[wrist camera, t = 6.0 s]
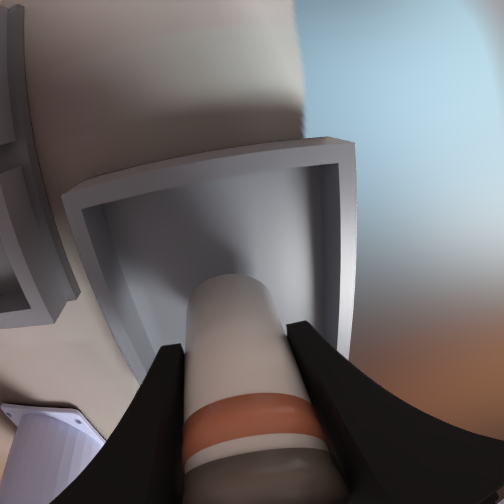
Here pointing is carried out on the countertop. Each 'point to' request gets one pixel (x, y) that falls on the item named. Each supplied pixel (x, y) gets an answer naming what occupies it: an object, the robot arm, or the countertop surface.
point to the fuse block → (25, 202)
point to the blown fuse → (249, 406)
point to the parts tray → (220, 237)
